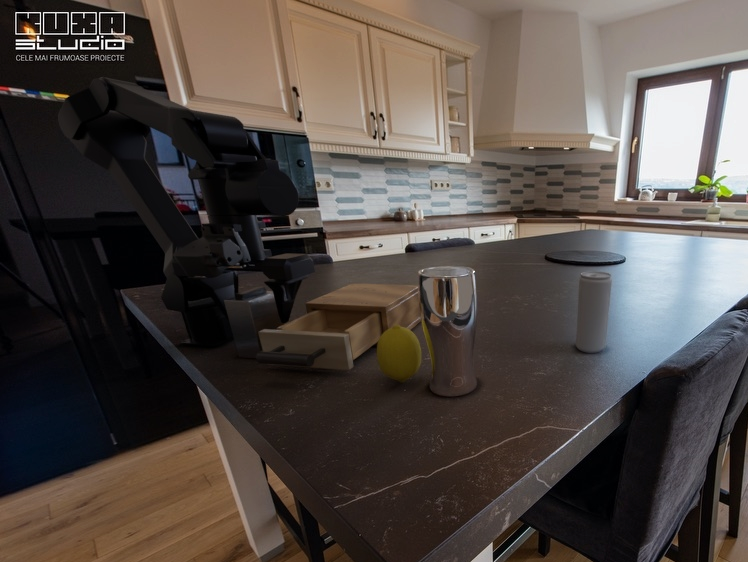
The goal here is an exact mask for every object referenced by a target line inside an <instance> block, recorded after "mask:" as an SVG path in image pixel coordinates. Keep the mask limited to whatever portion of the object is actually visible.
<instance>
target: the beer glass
mask: <svg viewBox="0 0 748 562" xmlns="http://www.w3.org/2000/svg"><path fill="white" fill-rule="evenodd" d="M417 274H418V286H419V287H418V289H419V310H420V318H421V322H420V323H421V327H422V331H423V335H424V338H425V342H426V346H427V349H428V353H429V357H430V378H429V389H430V391H431V392H432V393H433V394H435V395H437V396H440V397H446V398H447V397H451V398H452V397H461V396H464V395H467V394H469V393H471V392H473V391H474V390H475V389H476V388H477V385H478V380H477V376H476V371H475V367H474V366H475V365H474V349H475V342H476V341H475V340H476V335H477V334H476V333H477V327H478V318H479V301H478V291H477V281H476V271H475V269H474V268H472V267H469V266H467V267H466V266H462V265H461V266H460V265H441V266H432V267H426V268H423V269H420V270H418V272H417Z"/></svg>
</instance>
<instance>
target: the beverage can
mask: <svg viewBox="0 0 748 562" xmlns="http://www.w3.org/2000/svg"><path fill="white" fill-rule="evenodd" d="M612 282H613V279H612V274H611V273H609V272H605V271H595V270H594V271H593V270H592V271H583V272H581V273H580V277H579V279H578V293H577V294H578V295H577V296H578V297H577V315H576V316H577V319H576V334H575V346H576V349H578V350H579V351H581V352H583V353H588V354H595V353H600V352H602V351H604V350H605V349H606V347H607V339H608V338H607V337H608V326H609V316H610V305H611V294H612Z"/></svg>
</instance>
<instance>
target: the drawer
mask: <svg viewBox="0 0 748 562" xmlns="http://www.w3.org/2000/svg"><path fill="white" fill-rule="evenodd" d="M277 329H278V330H272V329H263V330H261V331H259V332H258V333H259V337H260V341H261V345H262V350H263V351H260V352H258V353H257V355H256V358H255V361H256V362H257V363H258V364H261V365H262V364H263V365H269V366H270V365H271V366H285V367H299V368H312V369H327V370H339V371H340V370H341V371H350V370H352V369H353V368H354V360H355V359H357V358H358V357H359V356H361V355H363V353H365V352H366V351H367V350H369V349H370V348H371V347H374V346H373V345H374V344H375V343H377V342H378V341H379V339H380V337H381V335H382V334H383V333H384V332H383V323H382V315H381V312H375V311H354V310H333V309H317V310H315V311H313V312H311V313H308V314H307V313H305V314H304V315H302V316H299V317H297V318H295V319H293V320H291V321H288V322H286V323H284V325H282V326H280V327H278V328H277Z"/></svg>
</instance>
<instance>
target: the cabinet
mask: <svg viewBox="0 0 748 562" xmlns="http://www.w3.org/2000/svg"><path fill="white" fill-rule="evenodd" d="M418 287H419V285H412V284H389V283H388V284H386V283H363V282H362V283H358V282H357V283H356V282H353V283H350V284H347V285H346V286H343V287H340V288H337V289H336V290H333V291H331V292H329V293H326V294H324V295H321V296H318V297H317V298H313V299H312V300H309V301H307V302H305V308H306V314H308V313H311V312H313V311H315V310H317V309H333V310H354V311H375V312H381V315H382V323H383V332H385V331H386V330H388V329H390V328H392V327H393V326H394V325H399V326H401V327H404V328H407V329H409V330H410V331H412V329H413V328H415V327H416V326H418V324H419V323H421V318H420V310H419V289H418ZM377 345H378V342H377V343H375V344H374V345H373V346H372V347H377Z"/></svg>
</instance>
